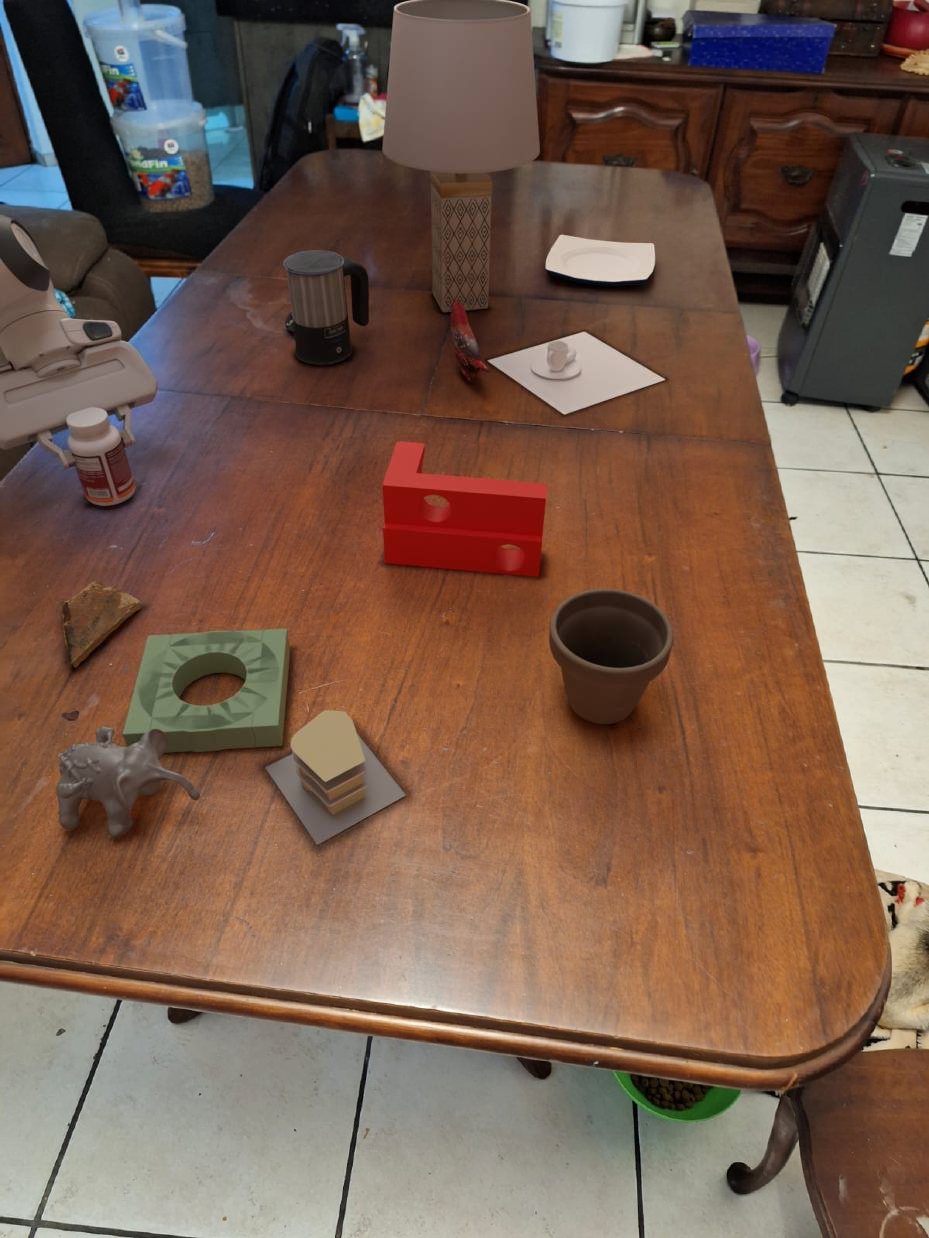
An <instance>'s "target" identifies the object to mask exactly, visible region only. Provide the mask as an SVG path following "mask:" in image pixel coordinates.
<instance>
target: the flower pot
mask: <svg viewBox="0 0 929 1238" xmlns="http://www.w3.org/2000/svg"><path fill="white" fill-rule="evenodd" d="M548 630H549V634H548V635H549V638H548V643H549V644H548V645H549V650H550V653H551V655H552V657H553V659H554V661H555V662H556V663H557V664H558V666H559V667H560V671H561V676H562V681H563V686H564V690H565V694H566V697H567V701H568V704H569V706H570V708H571V710H572V711H573V712H574V713H575V714H576V715H577V716H578V717H580V718H581V719H583V720H585V721H587V722H589V723H593V724H598V725H612V724H615V723H619V722H621V721H623V720H625V719H626V718H627V717H628V716H630V714H631V713H632V712H633V710H634V709H635V707H636V706H637V704H638V703H639V701H640V700H641V698H642V696H643V695H644V693H645V691H646V689H647V688H648V685H649V684H650V682H652V681H653V680H655V679H656V678H657V677H658V676H660V675H661V674H662V673H663V672H664V670H665V669H666V667H667V665H668V662H669V659H670V655H671V652H672V648H673V645H674V636H675V635H674V629H673V624H672V622H671V620H670V618H669V617H668V616H667V614H666V613H665V612H664V611H663V610H662V609H661V608H660V607H659V606H658V605H657V604H656V603H654V602H652V601H651V600H650V599H648V598H645V597H643V596H642V595H639V594H637V593H635V592H634V593H633V592H630V591H627V590H621V589H615V588H594V589H588V590H584V591H580V592H577V593H575V594H573V595H571V596H568V597H567V598H565V599H564V600H563V601H562V602H560V603H559V604H558V605H557V607H555V609H554V610H553V613H552V614H551V617H550V620H549V626H548Z"/></svg>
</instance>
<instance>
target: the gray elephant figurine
mask: <svg viewBox="0 0 929 1238" xmlns="http://www.w3.org/2000/svg"><path fill="white" fill-rule="evenodd" d="M94 734H95V737H96V742H91V743H89V742H88V741H85V742H84V743H81V744H80V743H79V744H77V743H72V744H71V745H70V746H69V747H68V748H67V749H66V750H64V751H63V753H62V752H61V753H60V752H59V753H58V754H57V758H58V759H59V761H60V762H58V766H59V770H58V771H59V774H60V778H59V779H58V781H57V783H56V789H55V790H56V795H57V796H56V797H57V802H58V822H59V824H60V826H61V827H62V828H63V829H64V830H66V831H74V830H76V829H77V827H78V826H79V824H80V806H81V803H82V801H83V800H88V799H90V801H99V802H100V803H101V804H102V805H103V807H104V809H105V812H106V815H107V818H108V819H107V831H108V834H109V836H111V837H112V838H119V837H122V835H125V834H126V833H128V832H129V831H130V830H131V829H132V827H133V825H134V821H133V819H132V817H131V816H130V813H131V809H132V808H133V806H134V805H135V802H136V801H137V798H138V797H148V796H151V795H154V794H155V793H157V792H158V791H159V790H160V789H161V783H162V781H172V782H174V783H177V784H179V785H180V786H181V787H182V788H183V789H185V790H186V792H187V795H188V796H189V798H190V799H191V800H193V801H199V800H200V798H201V792H200V790H199V789H198V788H197V787H195V786H194V785H193V783H192V782H191V780H189V779H188V778H186V776H184V775H182V774H180V773H178V772H176V771H173V770H169V769H166V768H164V767H163V766H162V765H161V763H160V759H161V758H162V756H163V755H164V754H165V753H164V751H165V749H166V746H167V744H168V737H167V735H166V734H165V733H164V732H163V731H162V730H159V729H151V730H149V731H147V732H146V733H145V734H144V735H143V736H142V738H141V740H140V741H139V742H136V743H134V744H132V745H130V746H128V747H127V746H121V745H117V744H116V743H114V742H113V737H114V734H115V729H114V728H113V727H107V726H101V727H100V728H97V729H96V730H94Z"/></svg>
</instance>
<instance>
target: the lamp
mask: <svg viewBox="0 0 929 1238" xmlns="http://www.w3.org/2000/svg"><path fill="white" fill-rule="evenodd" d="M531 13H532V12H531V8H530V7H529V6H527V5H526V4H523V3H520V2H516V1H512V0H407V1H403V2H400V3H397V4H395V5H394V6H393V16H392V29H391V39H390V40H391V41H390V51H389V52H390V53H389V64H388V77H387V89H386V101H385V111H384V112H385V113H384V114H385V115H384V124H383V136H382V150H381V151H382V152H383V155H384V156H385V157H386V159H389V160H390V161H392V162H393V163H396V164H398V165H400V166H403V167H404V166H405V167H407V168H411V169H415V170H421V171H426V172H427V171H428V172H429V177H430V178H429V182H430V183H431V184H430V201H431V202H430V204H431V205H430V207H431V209H430V210H431V270H432V271H431V274H432V275H431V276H432V278H431V279H432V295H433V297H434V299H435V300H436V302H437V304H438V306H439V309H440V310H441V312H442V313H451V308H452V305H453V304H454V303H455V302H460V303H461V304H462V306H463V308H464V310H465V312H466V311H474V310H477V311H478V310H486V309H488V308H489V293H490V291H489V289H490V259H491V257H490V255H491V226H492V225H491V223H492V222H491V221H492V195H493V185H494V184H493V182H494V181H493V180H492V178H491V177H490V176H489V175H488V173H493V172H498V171H506V170H511V169H515V168H519V167H522V166H525V165H527V164H528V163H531V162H533V161H534V160H535V159H537V158H538V157H539V155H540V153H541V148H540V134H539V117H538V105H537V104H538V103H537V102H538V101H537V90H536V89H537V88H536V75H535V73H536V72H535V60H534V45H533V44H534V43H533V29H532V15H531Z"/></svg>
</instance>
